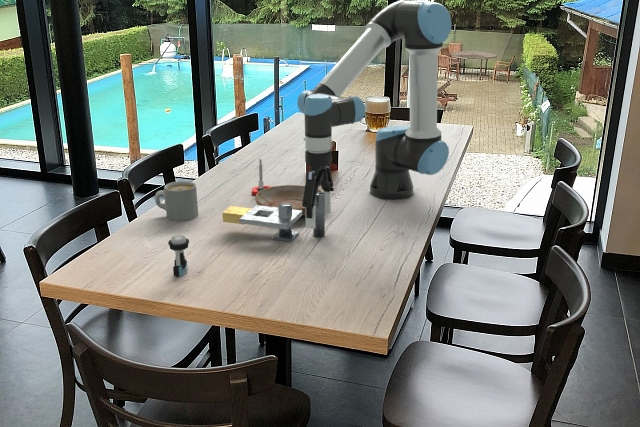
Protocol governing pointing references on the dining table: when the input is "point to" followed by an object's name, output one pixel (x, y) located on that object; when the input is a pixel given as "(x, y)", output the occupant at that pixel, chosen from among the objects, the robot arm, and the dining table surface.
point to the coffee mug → (179, 200)
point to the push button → (179, 254)
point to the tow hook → (260, 187)
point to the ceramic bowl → (282, 196)
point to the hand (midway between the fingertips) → (318, 219)
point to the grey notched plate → (267, 218)
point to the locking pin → (319, 215)
